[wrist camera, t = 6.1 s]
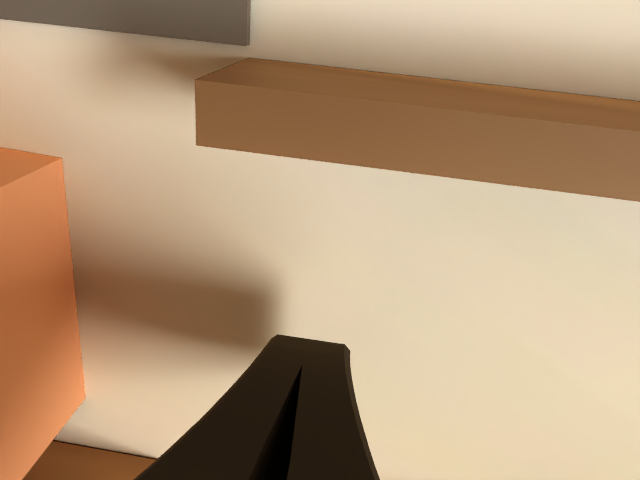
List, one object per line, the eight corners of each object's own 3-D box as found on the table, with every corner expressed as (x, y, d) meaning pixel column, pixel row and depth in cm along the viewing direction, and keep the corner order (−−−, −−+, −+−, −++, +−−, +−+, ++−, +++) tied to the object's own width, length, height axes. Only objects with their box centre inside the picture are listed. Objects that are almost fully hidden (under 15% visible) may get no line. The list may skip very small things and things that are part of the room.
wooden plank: (779, 595, 12) (868, 734, 10) (-184, 418, 14) (-295, 499, 12) (1140, 157, 7) (1470, 227, 5) (-384, -13, 9) (-632, -17, 7)
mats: (442, 635, 14) (443, 643, 14) (-23, 542, 15) (-28, 548, 15) (756, -262, 6) (768, -270, 6) (-302, -321, 7) (-319, -329, 7)
